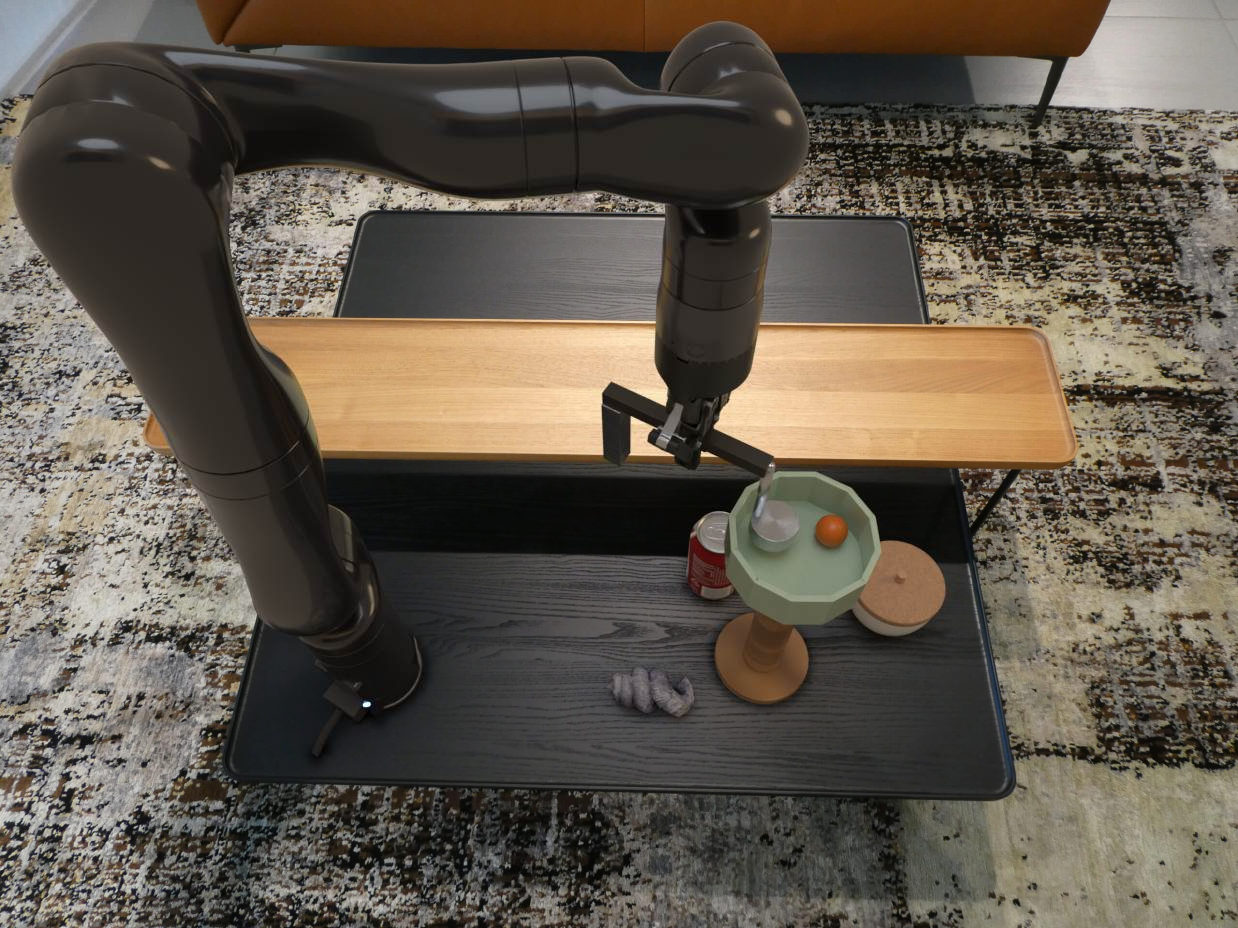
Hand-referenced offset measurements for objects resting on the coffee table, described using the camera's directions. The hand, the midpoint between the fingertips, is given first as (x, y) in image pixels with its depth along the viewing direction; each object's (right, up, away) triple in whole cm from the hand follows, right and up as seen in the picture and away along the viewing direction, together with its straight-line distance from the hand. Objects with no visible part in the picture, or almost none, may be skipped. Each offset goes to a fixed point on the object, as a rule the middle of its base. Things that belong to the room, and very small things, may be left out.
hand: (692, 454), depth 75 cm
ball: (+13, -7, +3) cm, 15 cm away
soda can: (+5, -15, +32) cm, 35 cm away
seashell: (-3, -28, +23) cm, 37 cm away
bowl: (+10, -10, +4) cm, 14 cm away
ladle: (+1, -4, +5) cm, 6 cm away
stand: (+10, -24, +25) cm, 37 cm away
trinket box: (+26, -19, +29) cm, 43 cm away
